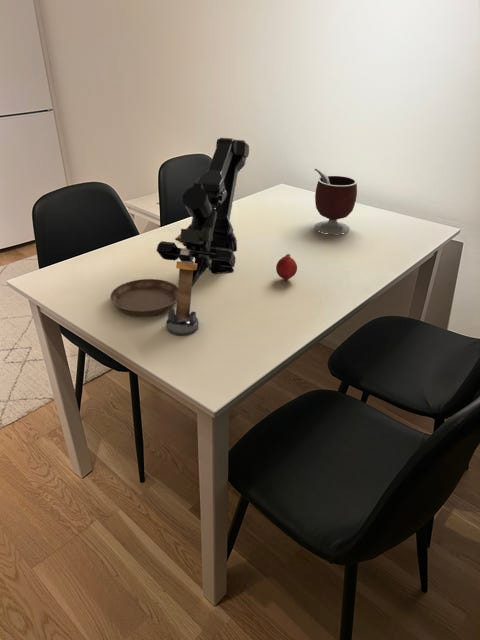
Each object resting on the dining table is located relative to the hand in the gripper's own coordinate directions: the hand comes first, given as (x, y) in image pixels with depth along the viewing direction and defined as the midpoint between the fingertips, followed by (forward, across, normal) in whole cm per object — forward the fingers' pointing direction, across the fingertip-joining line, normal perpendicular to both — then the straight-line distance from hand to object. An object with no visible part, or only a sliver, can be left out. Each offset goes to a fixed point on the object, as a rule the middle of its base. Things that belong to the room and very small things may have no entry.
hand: (189, 287), depth 119 cm
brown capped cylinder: (+8, 0, 0) cm, 8 cm away
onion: (-12, +20, +24) cm, 33 cm away
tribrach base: (+10, 0, +1) cm, 10 cm away
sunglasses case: (-26, -12, +38) cm, 47 cm away
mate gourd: (-44, +29, +55) cm, 76 cm away
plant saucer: (+4, -13, +8) cm, 16 cm away
